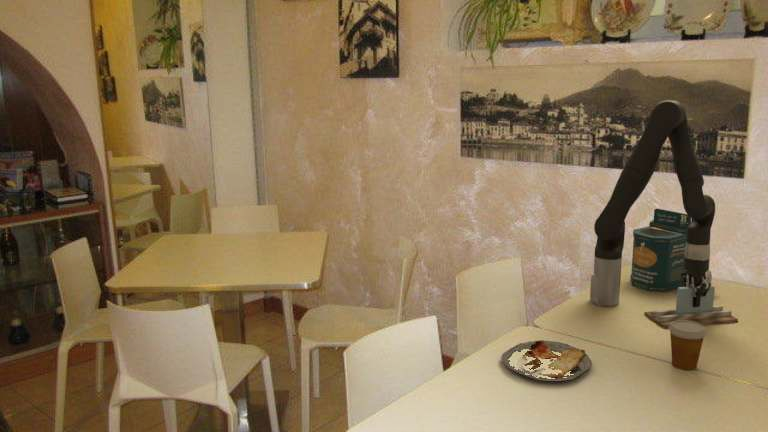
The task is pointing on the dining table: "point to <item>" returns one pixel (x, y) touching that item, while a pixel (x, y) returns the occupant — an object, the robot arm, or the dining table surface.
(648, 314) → the floor track
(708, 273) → the beige flat disc
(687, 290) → the door panel
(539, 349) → the food plate
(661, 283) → the donation box
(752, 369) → the dining table surface
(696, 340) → the disposable coffee cup
